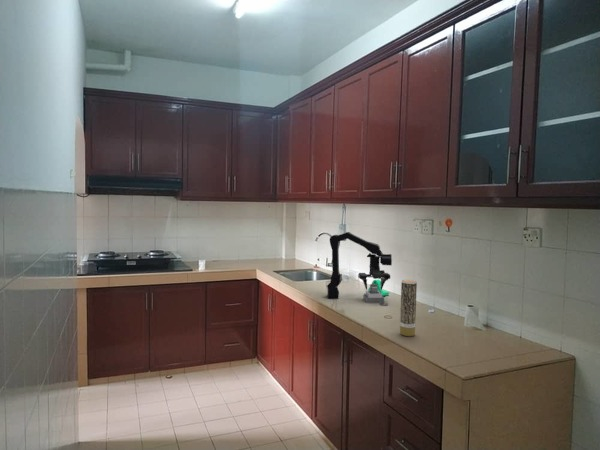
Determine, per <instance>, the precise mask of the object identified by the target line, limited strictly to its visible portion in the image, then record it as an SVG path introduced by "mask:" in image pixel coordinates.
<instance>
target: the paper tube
mask: <svg viewBox="0 0 600 450" xmlns="http://www.w3.org/2000/svg"><path fill="white" fill-rule="evenodd" d="M417 284H418V281H417V280H414V279H401V285H400V286H401V289H400V291H401V292H400V315H399V316H400V318H399V324H400V325H399V333H400V335H402V336H406V337H414V336H415V335H416V320H417V319H416V315H417V291H418V290H417V288H418V285H417Z"/></svg>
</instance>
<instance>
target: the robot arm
mask: <svg viewBox="0 0 600 450" xmlns="http://www.w3.org/2000/svg"><path fill="white" fill-rule="evenodd" d="M344 240H349V241H351V242H353V243H355V244H357V245H359V246H361V247H363V248H365V249H366V250H367V251H368V252H369V254H368V255H366V257H367V258H369V266H368V267H369V274H367V273H365V272H359V273H358V275H357V276H358V279H361V280H362V283H363V284H364V285H363V286H364V287H365V291H368V278H372V279H374V280H380V281H381V285H380V286H381V290H383V288H384V285H385V283H386V281H389V280H390V279H391V274H390V273H388V272H386V271H385V270H381V267H380V265H382V266H392V264H393V259H392V254H391V253H389V254H385V253H383V251H381V245H379V244H378V243H375V242H371V241H368V240H366V239H363V238H361V237H359V236H357V235H356V234H353V233H352V232H351V231H347V232H345V233H341V234H333V235H331V236H330V237H329V244H330V247H331V261H332V262H331V264H332V265H331V266H332V267H331V268H332V270H331V271H332V273H331V276H330V282H329V283H328V284H327V285H326V289H327V290H326V291H327V293H326V298H327V299H332V300H333V299H339V297H340V295H339V294H340V291H339V288H338V286H339V285H340V284H342V281H343V273H340V260H339V259H340V257H339V256H340V254H339V253H340V252H339V249H340V246H341V245H340V244H341V241H344Z"/></svg>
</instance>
